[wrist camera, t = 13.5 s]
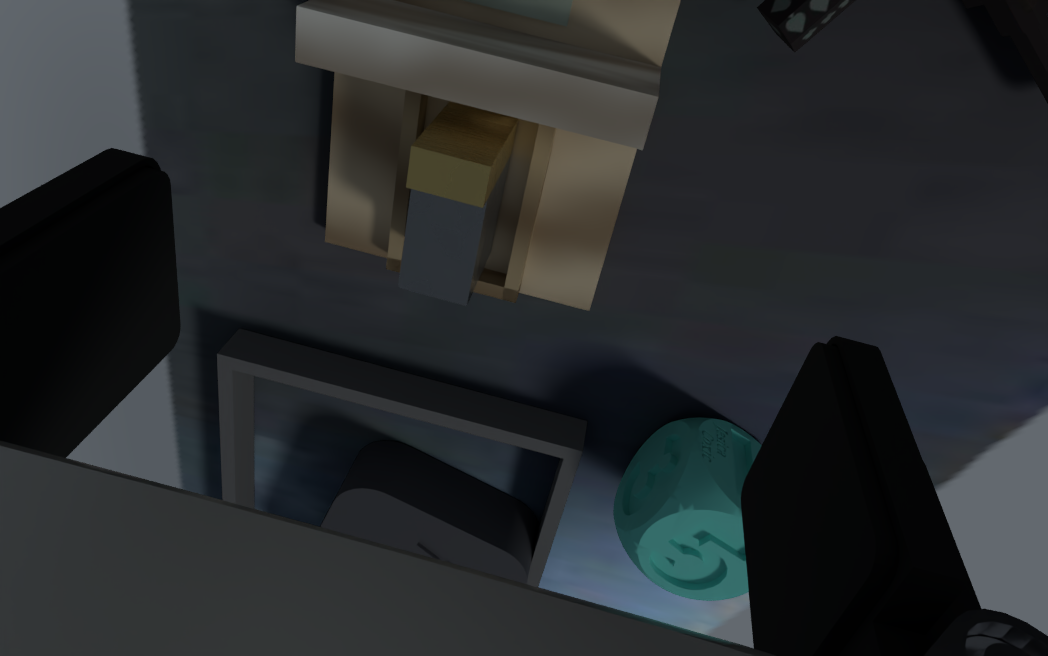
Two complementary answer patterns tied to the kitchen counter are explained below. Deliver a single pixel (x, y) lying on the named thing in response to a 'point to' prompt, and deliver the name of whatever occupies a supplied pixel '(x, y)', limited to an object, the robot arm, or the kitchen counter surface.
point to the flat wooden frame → (502, 87)
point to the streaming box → (433, 512)
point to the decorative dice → (688, 508)
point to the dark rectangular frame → (390, 394)
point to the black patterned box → (1013, 3)
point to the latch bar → (455, 200)
